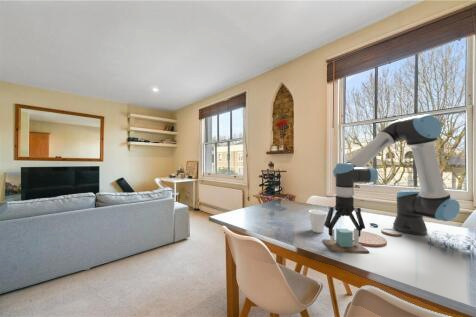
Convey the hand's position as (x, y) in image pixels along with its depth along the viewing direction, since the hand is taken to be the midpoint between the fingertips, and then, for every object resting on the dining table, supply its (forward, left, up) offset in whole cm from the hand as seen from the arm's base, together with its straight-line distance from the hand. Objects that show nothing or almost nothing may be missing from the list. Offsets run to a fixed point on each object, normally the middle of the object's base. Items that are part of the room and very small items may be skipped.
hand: (344, 242), depth 95 cm
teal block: (0, 0, -1) cm, 1 cm away
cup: (+6, -20, -2) cm, 21 cm away
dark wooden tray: (0, 0, -2) cm, 2 cm away
